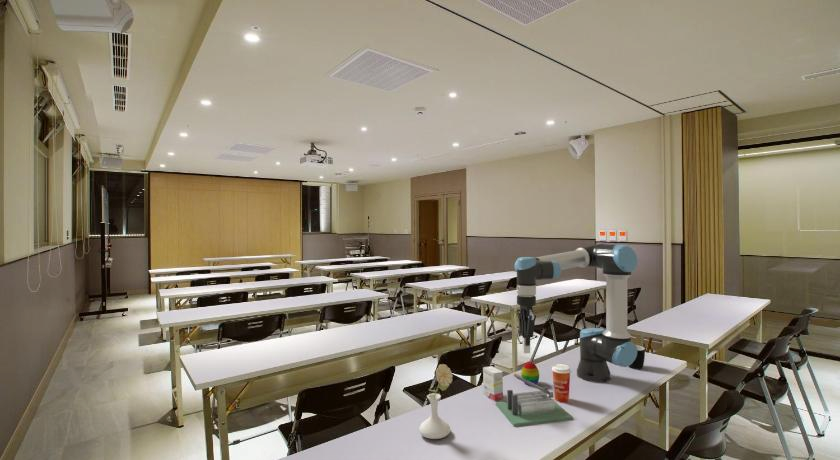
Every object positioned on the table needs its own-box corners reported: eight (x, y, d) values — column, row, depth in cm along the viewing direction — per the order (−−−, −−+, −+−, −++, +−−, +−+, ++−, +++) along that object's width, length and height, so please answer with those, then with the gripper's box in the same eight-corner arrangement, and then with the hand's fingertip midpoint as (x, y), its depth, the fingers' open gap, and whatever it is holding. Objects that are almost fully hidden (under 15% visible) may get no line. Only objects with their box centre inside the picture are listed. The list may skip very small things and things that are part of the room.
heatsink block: (544, 401, 165) (543, 384, 165) (556, 412, 155) (556, 395, 155) (510, 405, 162) (510, 388, 162) (521, 417, 152) (521, 399, 152)
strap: (546, 392, 162) (548, 389, 162) (550, 396, 158) (552, 392, 158) (513, 375, 159) (514, 372, 159) (516, 379, 156) (518, 375, 156)
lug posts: (512, 410, 160) (511, 389, 160) (517, 416, 155) (517, 395, 155) (507, 411, 160) (507, 390, 159) (512, 417, 154) (512, 395, 154)
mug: (648, 367, 202) (648, 347, 202) (639, 371, 197) (639, 351, 197) (625, 361, 212) (625, 342, 212) (616, 364, 207) (615, 345, 207)
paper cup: (549, 399, 169) (548, 367, 168) (556, 393, 174) (556, 362, 174) (567, 405, 163) (566, 371, 163) (574, 399, 169) (574, 366, 169)
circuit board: (548, 398, 170) (548, 396, 170) (572, 419, 152) (572, 416, 152) (495, 404, 165) (495, 402, 165) (513, 426, 148) (513, 423, 148)
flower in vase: (427, 445, 136) (425, 373, 136) (414, 430, 147) (412, 363, 146) (460, 436, 142) (458, 367, 141) (445, 422, 152) (444, 357, 152)
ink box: (503, 399, 171) (503, 371, 170) (494, 401, 169) (493, 373, 168) (492, 391, 178) (491, 365, 178) (483, 393, 176) (482, 367, 176)
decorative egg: (539, 387, 181) (538, 365, 181) (520, 385, 184) (520, 364, 184) (539, 380, 189) (539, 359, 189) (522, 378, 192) (521, 358, 191)
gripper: (511, 292, 167) (511, 348, 168) (524, 298, 154) (524, 358, 155) (528, 292, 168) (528, 347, 169) (542, 297, 156) (542, 357, 156)
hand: (526, 352), depth 162 cm, fingers closed
